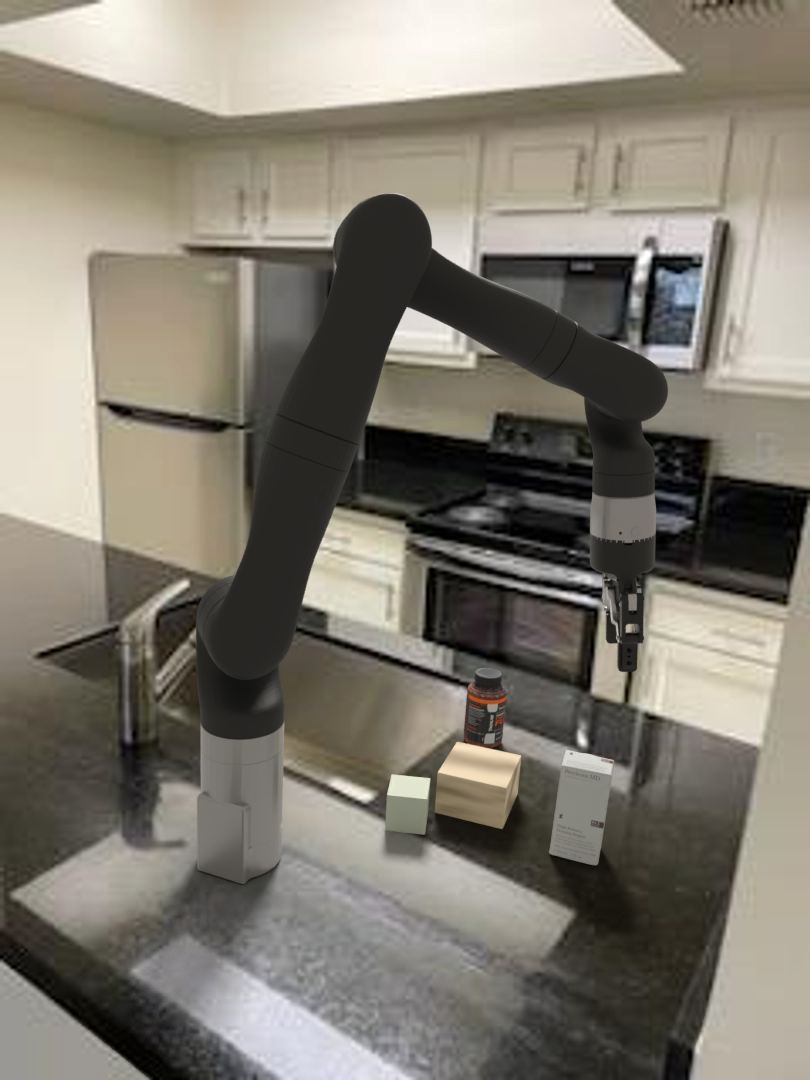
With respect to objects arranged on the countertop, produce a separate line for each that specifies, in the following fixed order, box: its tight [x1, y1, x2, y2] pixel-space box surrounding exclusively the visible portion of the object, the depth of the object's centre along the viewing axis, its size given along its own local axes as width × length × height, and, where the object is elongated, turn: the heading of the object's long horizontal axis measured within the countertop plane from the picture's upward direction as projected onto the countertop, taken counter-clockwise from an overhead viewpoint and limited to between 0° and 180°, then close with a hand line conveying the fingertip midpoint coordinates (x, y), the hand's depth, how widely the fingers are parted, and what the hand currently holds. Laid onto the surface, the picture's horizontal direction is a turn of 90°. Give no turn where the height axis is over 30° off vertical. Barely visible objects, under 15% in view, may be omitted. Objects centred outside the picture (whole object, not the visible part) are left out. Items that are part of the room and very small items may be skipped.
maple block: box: [434, 741, 522, 830], centre depth 111 cm, size 9×9×6 cm
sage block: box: [384, 773, 431, 836], centre depth 106 cm, size 5×5×5 cm
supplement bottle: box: [463, 667, 508, 749], centre depth 127 cm, size 6×6×11 cm
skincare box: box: [548, 749, 615, 866], centre depth 101 cm, size 6×4×12 cm
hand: (620, 656), depth 104 cm, fingers open, 8 cm apart
